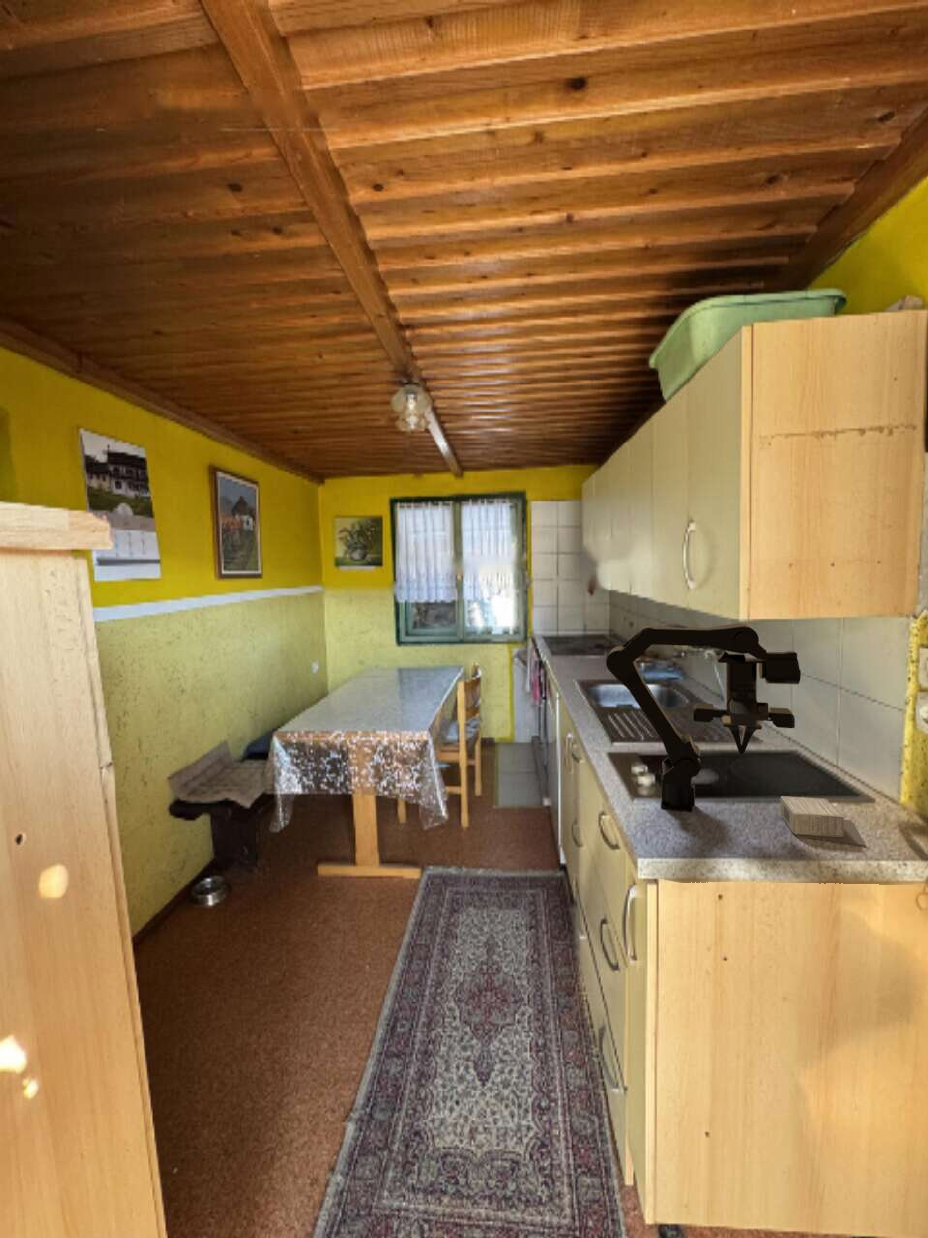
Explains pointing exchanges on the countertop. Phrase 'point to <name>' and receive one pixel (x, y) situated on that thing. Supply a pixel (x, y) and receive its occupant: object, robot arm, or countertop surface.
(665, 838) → the countertop surface
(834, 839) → the mat
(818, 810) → the wooden block
